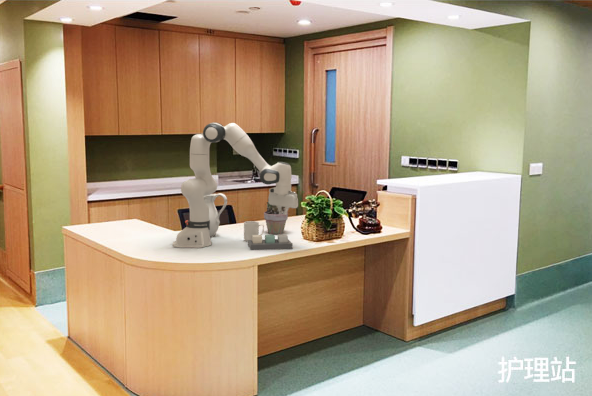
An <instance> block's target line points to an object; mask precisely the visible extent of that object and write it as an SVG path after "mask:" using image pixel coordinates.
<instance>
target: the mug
mask: <svg viewBox="0 0 592 396" xmlns="http://www.w3.org/2000/svg"><path fill="white" fill-rule="evenodd" d="M260 226H262V232H261V234H259V228H260ZM264 227H265V225H264V224H261V223H259V222H258V221H256V220H254V221H253V220H249V221H248V220H247V221H244V222H243V239H244V241H245V242H247V241H248V240H252V235H261V236H263V235H264V233H265V232H264V231H265V228H264Z"/></svg>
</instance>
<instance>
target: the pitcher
mask: <svg viewBox="0 0 592 396" xmlns="http://www.w3.org/2000/svg"><path fill="white" fill-rule="evenodd" d="M217 197H222V199H223V202H224V203H223V206H222V207H221V209H220V210H219V211H218V210H217V208H216V205H215V201H216V199H217ZM204 201H205V204H206V205H208V207H209V220H210V230H209V231H210V238H211V237H214V236H216V234H217V232H218V230H219V227H220V224H221V221H220V216H221V214H222V213H223V211H224V210H225V209H226V208H227V204H228V198H227V196H226V194H225V193H219V192H218V193H212V194H210V195H208V196H204Z"/></svg>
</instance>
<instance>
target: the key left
mask: <svg viewBox="0 0 592 396" xmlns="http://www.w3.org/2000/svg"><path fill="white" fill-rule="evenodd" d="M262 240H263V235H261V234H259V235H252V242H253V243H262Z"/></svg>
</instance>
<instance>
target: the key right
mask: <svg viewBox="0 0 592 396" xmlns="http://www.w3.org/2000/svg"><path fill="white" fill-rule="evenodd" d="M277 239H278V242H279V243H287V242H288V240H289V236H288V235H287V234H286V233H283V234H277Z"/></svg>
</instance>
